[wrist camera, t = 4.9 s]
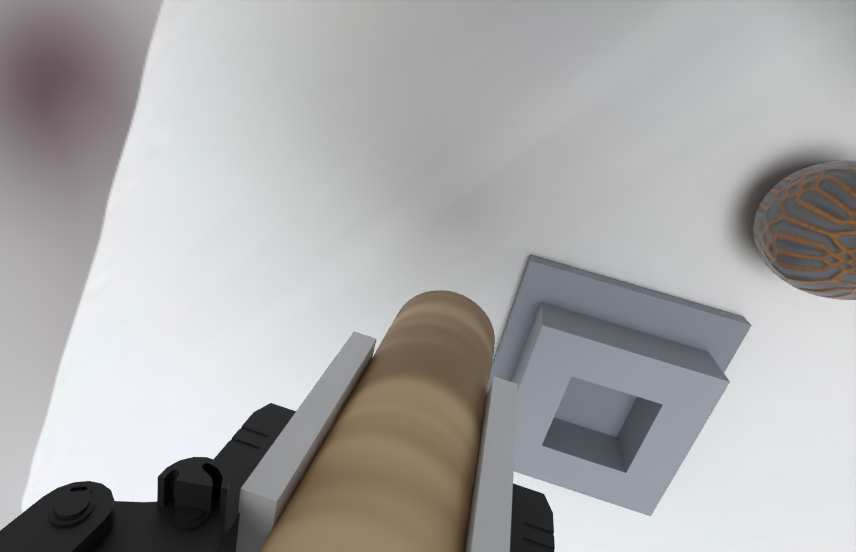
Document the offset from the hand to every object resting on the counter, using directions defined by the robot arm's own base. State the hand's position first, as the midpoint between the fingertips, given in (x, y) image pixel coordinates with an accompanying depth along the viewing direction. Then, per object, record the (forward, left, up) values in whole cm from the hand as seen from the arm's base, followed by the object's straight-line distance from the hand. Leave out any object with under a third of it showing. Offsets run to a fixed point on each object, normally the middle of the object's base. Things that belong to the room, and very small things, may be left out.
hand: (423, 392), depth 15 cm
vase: (-7, +18, -19) cm, 27 cm away
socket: (+8, +11, -18) cm, 23 cm away
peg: (0, 0, -4) cm, 4 cm away
